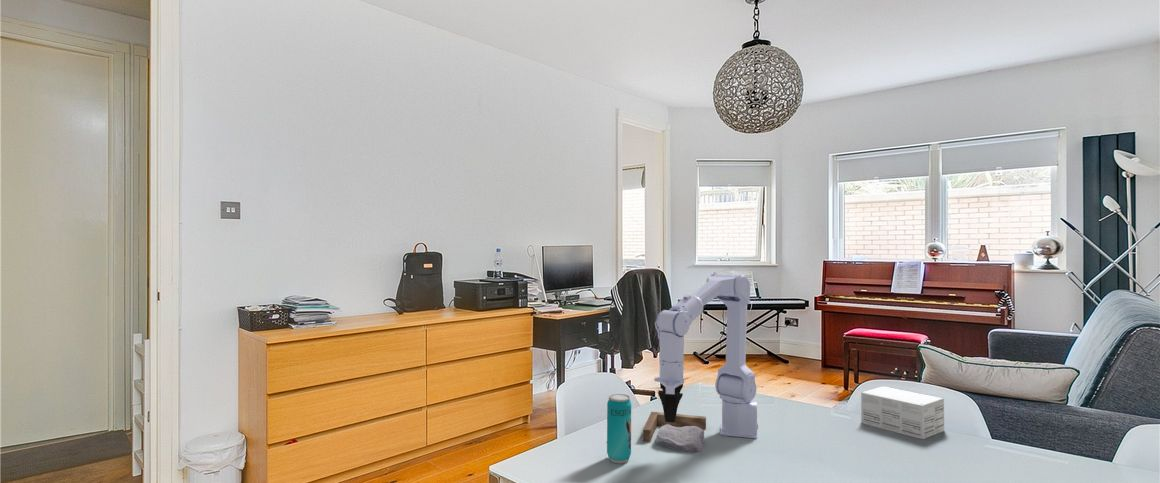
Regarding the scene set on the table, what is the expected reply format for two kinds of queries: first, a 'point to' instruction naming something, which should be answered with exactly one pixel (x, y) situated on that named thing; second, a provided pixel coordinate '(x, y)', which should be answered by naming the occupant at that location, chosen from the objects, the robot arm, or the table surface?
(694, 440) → the stone block
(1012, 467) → the table surface
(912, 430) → the supplement box
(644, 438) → the dock
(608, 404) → the beverage can
